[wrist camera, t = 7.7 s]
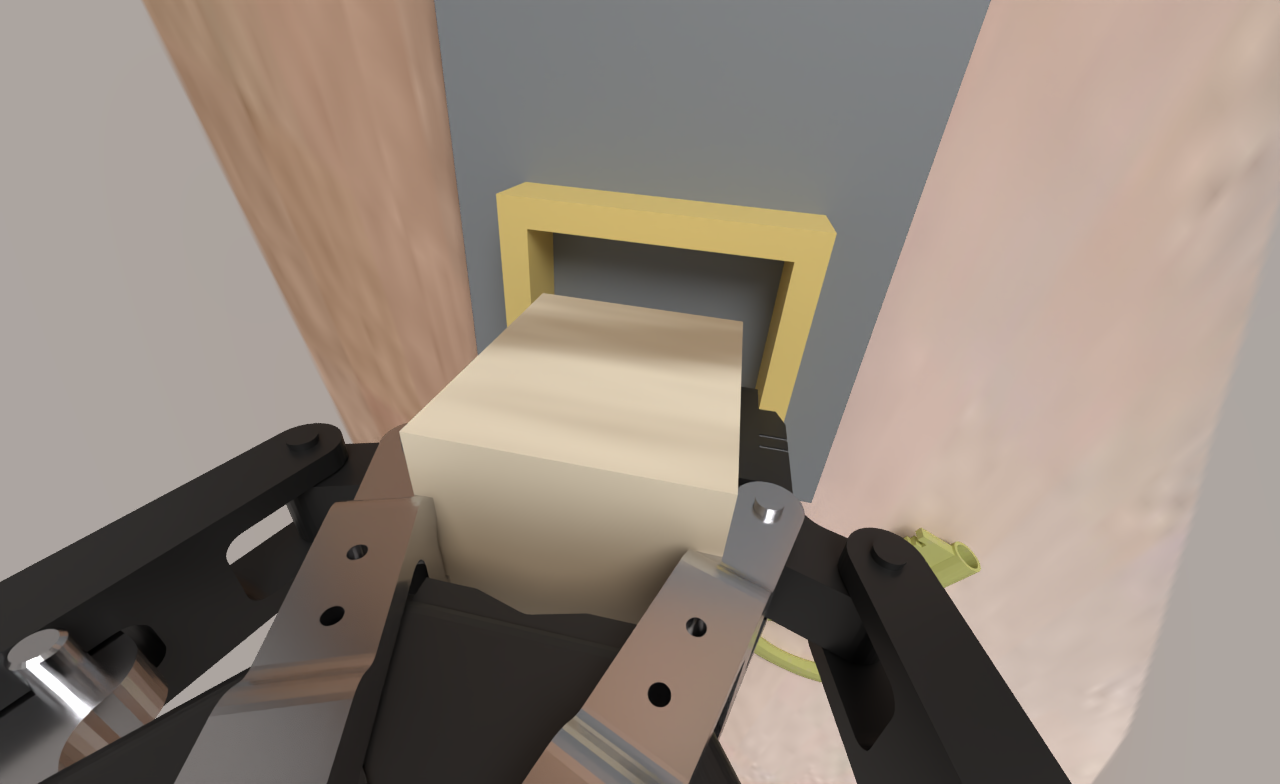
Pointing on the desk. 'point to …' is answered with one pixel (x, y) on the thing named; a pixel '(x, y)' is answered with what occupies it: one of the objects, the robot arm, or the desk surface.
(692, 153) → the puzzle board
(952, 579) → the key
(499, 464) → the beech block
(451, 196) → the desk surface
